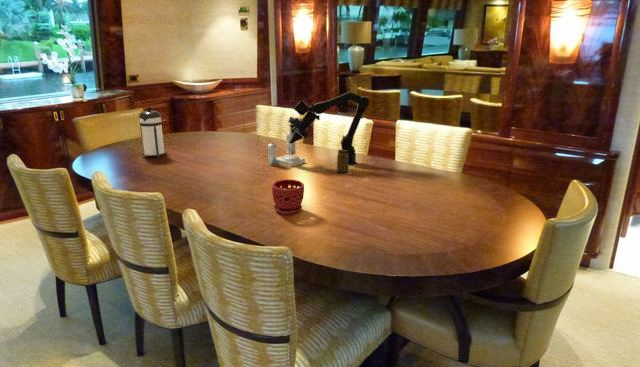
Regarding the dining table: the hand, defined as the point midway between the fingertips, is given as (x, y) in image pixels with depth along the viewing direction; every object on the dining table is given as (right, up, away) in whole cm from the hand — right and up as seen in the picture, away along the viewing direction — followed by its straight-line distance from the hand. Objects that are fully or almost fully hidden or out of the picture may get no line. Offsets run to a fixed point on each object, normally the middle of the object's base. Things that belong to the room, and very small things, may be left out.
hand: (288, 142), depth 260 cm
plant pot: (+4, -35, -65) cm, 74 cm away
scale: (-1, -11, +9) cm, 14 cm away
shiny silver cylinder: (+1, -6, +2) cm, 7 cm away
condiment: (+30, -17, -9) cm, 36 cm away
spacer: (-9, -12, +5) cm, 16 cm away
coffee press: (-84, -6, +26) cm, 88 cm away
